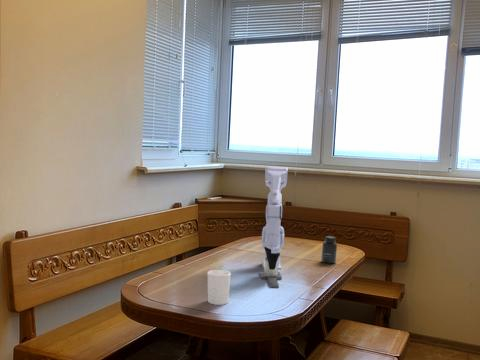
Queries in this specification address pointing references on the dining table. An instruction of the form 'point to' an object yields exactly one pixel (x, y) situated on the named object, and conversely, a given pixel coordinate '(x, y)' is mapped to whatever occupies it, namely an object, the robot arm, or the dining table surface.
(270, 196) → the robot arm
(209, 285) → the white cup
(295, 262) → the dining table surface
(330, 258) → the supplement bottle
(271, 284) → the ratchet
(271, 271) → the brushed metal cube
